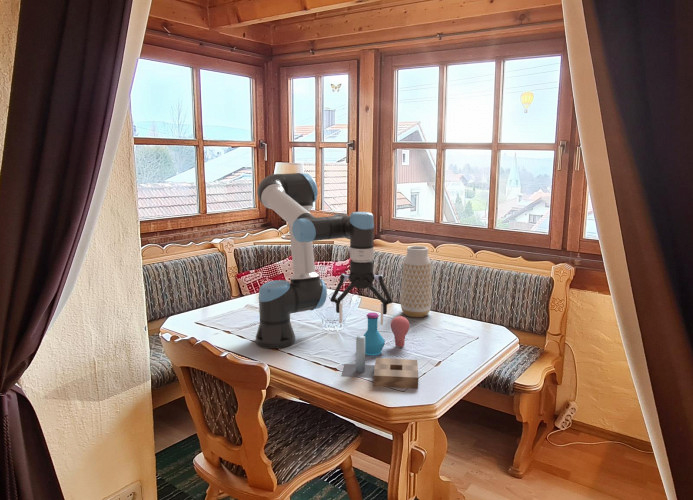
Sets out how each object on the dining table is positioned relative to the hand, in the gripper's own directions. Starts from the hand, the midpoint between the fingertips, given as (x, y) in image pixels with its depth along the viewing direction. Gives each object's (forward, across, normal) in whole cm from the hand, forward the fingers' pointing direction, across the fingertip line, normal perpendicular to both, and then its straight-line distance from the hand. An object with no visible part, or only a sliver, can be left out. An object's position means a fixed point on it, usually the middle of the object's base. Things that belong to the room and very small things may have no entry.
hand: (361, 322), depth 175 cm
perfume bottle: (+18, +3, +17) cm, 25 cm away
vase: (+17, +20, +64) cm, 69 cm away
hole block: (+18, +12, -4) cm, 21 cm away
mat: (+17, 0, 0) cm, 17 cm away
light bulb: (+18, +13, +24) cm, 33 cm away
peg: (+17, 0, 0) cm, 17 cm away
